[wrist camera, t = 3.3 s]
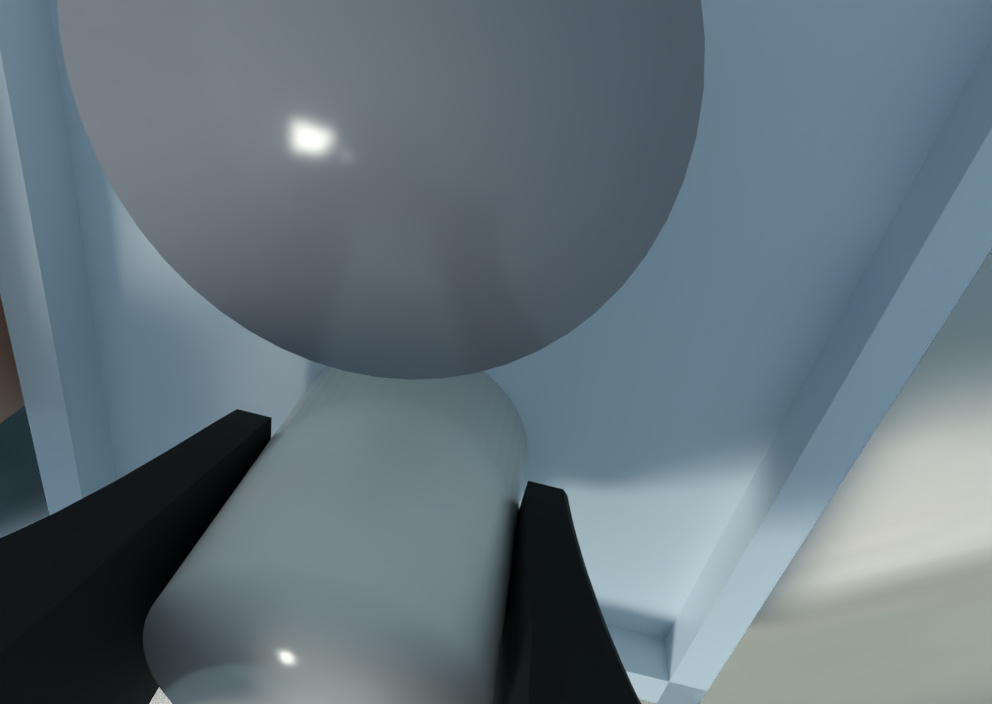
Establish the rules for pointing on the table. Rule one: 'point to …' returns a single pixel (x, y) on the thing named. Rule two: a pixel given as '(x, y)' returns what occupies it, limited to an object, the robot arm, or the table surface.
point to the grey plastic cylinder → (394, 161)
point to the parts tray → (607, 333)
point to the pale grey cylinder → (355, 554)
